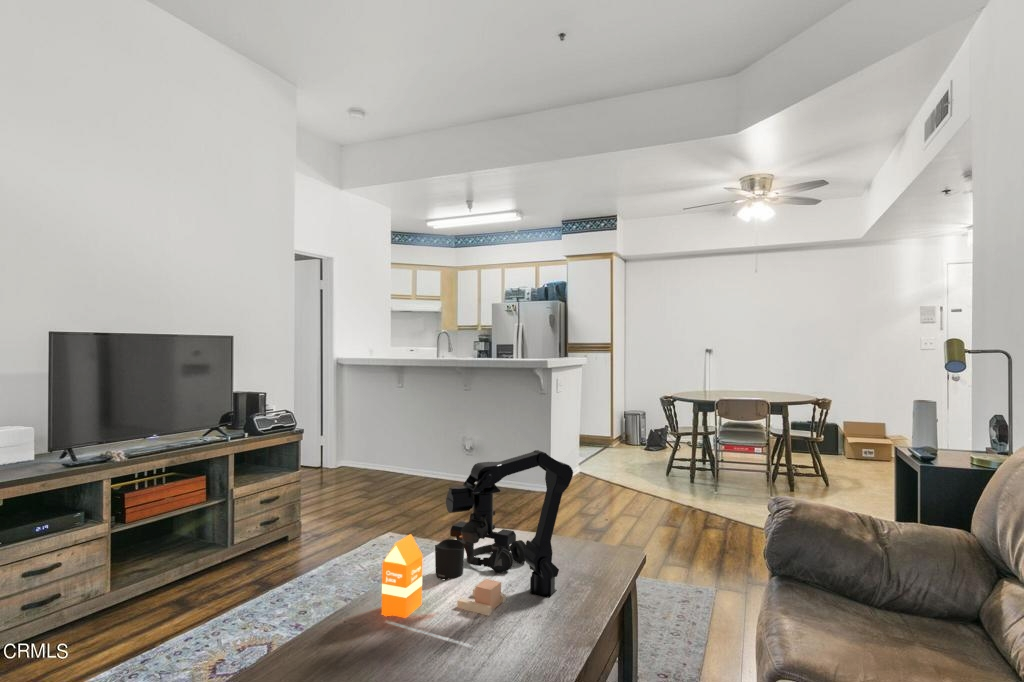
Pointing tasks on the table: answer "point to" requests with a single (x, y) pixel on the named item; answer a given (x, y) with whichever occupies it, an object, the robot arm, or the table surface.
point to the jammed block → (488, 593)
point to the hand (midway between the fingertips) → (482, 563)
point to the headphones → (504, 558)
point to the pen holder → (449, 559)
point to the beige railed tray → (477, 605)
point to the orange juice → (402, 579)
